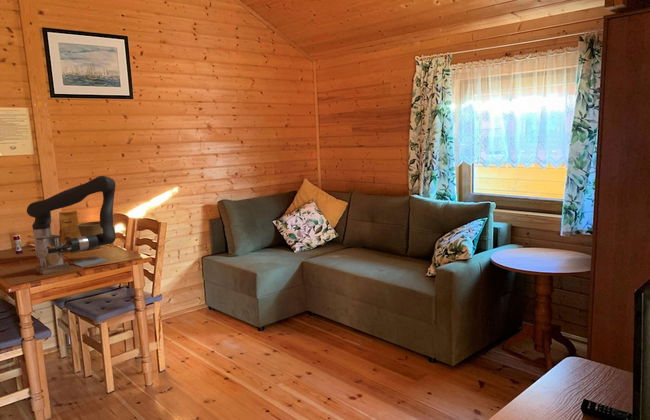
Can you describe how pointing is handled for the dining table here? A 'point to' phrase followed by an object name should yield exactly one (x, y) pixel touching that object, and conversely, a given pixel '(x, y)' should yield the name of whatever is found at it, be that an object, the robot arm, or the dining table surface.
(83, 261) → the rubber mat
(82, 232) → the plant pot
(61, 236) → the coffee package
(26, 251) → the dining table surface
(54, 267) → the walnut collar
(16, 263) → the dining table surface
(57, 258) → the coffee box
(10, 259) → the dining table surface
